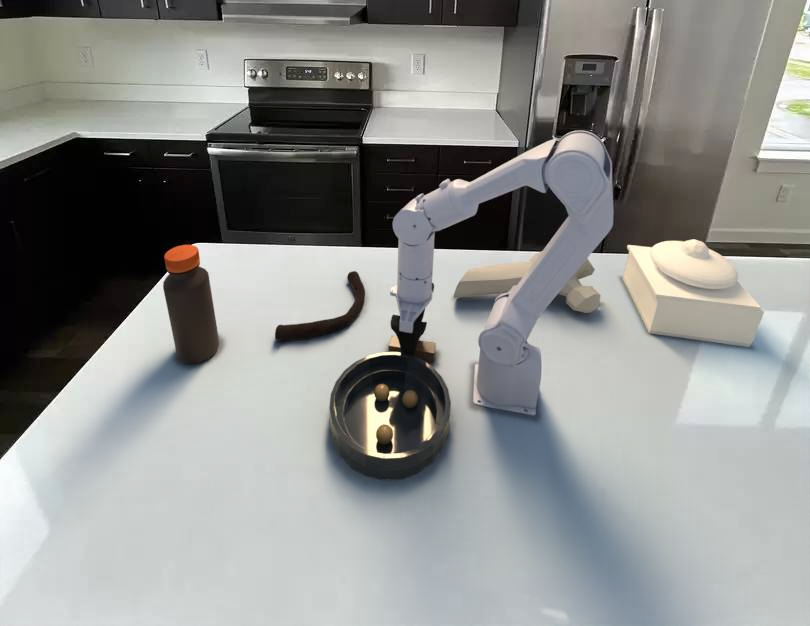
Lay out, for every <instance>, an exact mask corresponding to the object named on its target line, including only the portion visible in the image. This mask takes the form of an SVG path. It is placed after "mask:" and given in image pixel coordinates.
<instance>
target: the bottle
mask: <svg viewBox="0 0 810 626" xmlns="http://www.w3.org/2000/svg"><path fill="white" fill-rule="evenodd" d="M163 258H164V264H165V269H166V271H167V273H168V275H167V276H166V277H165V279H164V280H163V284H162V288H163V294H164V297H165V298H164V299H165V303H166V308H167V314H168V318H169V323H170V328H171V332H172V333H171V334H172V338H173V341H174V342H173V343H174V347H175V352H176V357H177V359H178V360H179V361H180V362H182V364H187V365H194V364H200V363H203V362H205V361H206V360H208V359H210V358H211V357H212V356H214V355H215V354H216V352H217V351H218V349H219V346H220V338H219V332H218V325H217V320H216V312H215V306H214V301H213V299H214V298H213V294H212V287H211V281H210V274H209V272H208V271H207V270H206V268H204V267H201V266H200V265H201V258H200V252H199V248H198V247H197V246H196V245H193V244H182V245H178V246H174V247H172V248H170V249H169V250H168V251H166V252H165V254H164V255H163Z"/></svg>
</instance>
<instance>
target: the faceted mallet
mask: <svg viewBox="0 0 810 626" xmlns="http://www.w3.org/2000/svg"><path fill="white" fill-rule="evenodd" d="M542 251H543V250H542ZM542 251H538V252H537V253H535V254H534V255H533V256H532V257H531V258H529V260H528V261H519V262H512V263H501V264H492V265H484V266H478V267H472V268H469V269H468V270H467V271H466V272H465V273H464V274H463V276H462V277H461V279H459V281H458V283H457V285H456V287H455V289H454V292H453V298H454V299H455V298H456V299H457V298H468V297H477V296H486V295H487V296H489V295H498V294H505V293H507V292H509V291H510V290H511V288H512V287H513V286H517V285H518V283H519V282H520V281H521V279H522V278H523V276H524V275H525V274H526V272H527V271H528V270H529V268H530V267H531V266H532V264H533V263H534V262H535V260H536V259H537V258H538V256H539V255H540V254H541V252H542ZM588 258H589V257H588ZM588 258H587V259H586V260H585V262H584V263H583V264H582V265H581V266H580V268H579V269H578V270H577V271H576V272H575V274H574V275H573V276H572V277H571V278H570V280H569V281H568V282H567V283H566V285H565V286H564V287H563V288H562V289H561V291H560V292H559V293H558V294H557V295H560V296H565V304H566V305H568V307H570V308H571V309H572V311H576V312H579V313H585V314H590V313H592V312H594V311H595V310H597V309H598V308H599V306H600V302H601V301H600V300H601V294H600V293H599V292H598V291H597V290H596V289H595V288H594V286H591V285H583V284H582V283H581V282H580V280H581V279H584V278H586V277H589V276H592V275H593V274H594V272H595V271H596V269H595V267H594V266H593V265H592V262H591V261H590V260H589V259H588Z"/></svg>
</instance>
